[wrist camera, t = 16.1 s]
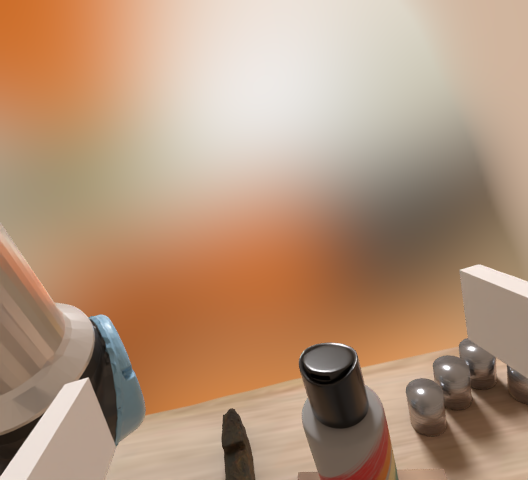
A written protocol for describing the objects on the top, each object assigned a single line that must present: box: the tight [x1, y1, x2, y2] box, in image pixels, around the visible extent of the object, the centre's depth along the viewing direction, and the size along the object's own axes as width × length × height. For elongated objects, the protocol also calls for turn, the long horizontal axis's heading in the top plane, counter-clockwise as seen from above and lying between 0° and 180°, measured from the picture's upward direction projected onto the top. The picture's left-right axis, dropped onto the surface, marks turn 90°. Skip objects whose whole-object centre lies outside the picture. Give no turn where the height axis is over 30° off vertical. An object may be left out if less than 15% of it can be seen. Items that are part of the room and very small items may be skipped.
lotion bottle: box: [299, 343, 399, 480], centre depth 26 cm, size 6×6×20 cm
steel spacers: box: [406, 338, 528, 436], centre depth 38 cm, size 18×12×4 cm, turn 81°
